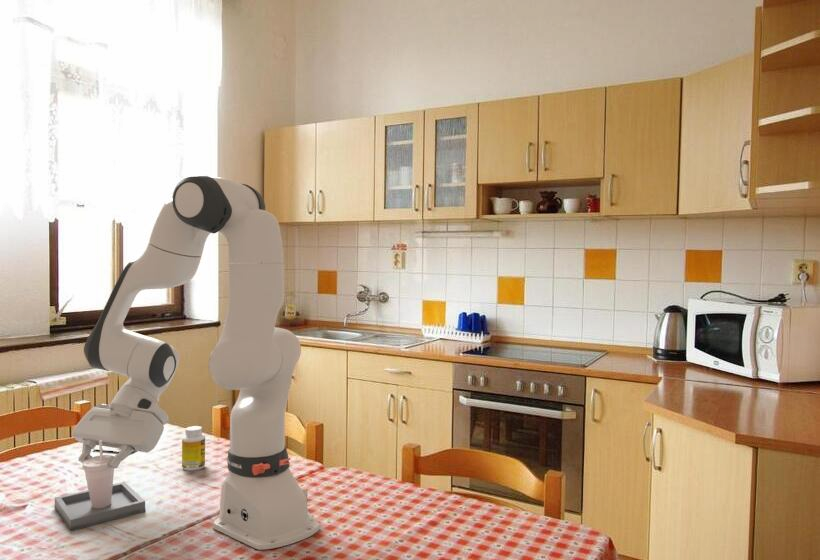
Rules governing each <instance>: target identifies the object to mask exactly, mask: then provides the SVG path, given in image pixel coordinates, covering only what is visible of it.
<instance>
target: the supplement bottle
mask: <svg viewBox="0 0 820 560" xmlns="http://www.w3.org/2000/svg"><path fill="white" fill-rule="evenodd" d="M202 427H203V426H199V425H193V426H188V427H186V428H185V432H184V433H185V434H184V435H183V436H182V438H181V468H182V469H183V470H184V471H190V472H193V471H199V470H201V469H203V468H205V466H206V436H205V435H206V434H204V433H203V428H202Z"/></svg>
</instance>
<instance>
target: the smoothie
mask: <svg viewBox="0 0 820 560" xmlns="http://www.w3.org/2000/svg"><path fill="white" fill-rule="evenodd" d="M99 449H100V451H99V455H96V456H92V458H89V459H87V460H85V461H84V462H83V463H81V464H82V470H84V474H85V475H84V476H85V479H86V484H87V490H88V491H89V496H90V501H91V506H92V508H96V509H98V508H104V507H107V506H109V505H110V504H111V499H112V487H113V484H114V475H115V474H114V473H115V468H111V467H109V466H108V465H107V462H108V461H109V459H110V457H114V456H115V455H111V454H110V455H109V454H104V451H103V450H104V449H103V448H102V440H100V441H99Z"/></svg>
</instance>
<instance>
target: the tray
mask: <svg viewBox="0 0 820 560" xmlns="http://www.w3.org/2000/svg"><path fill="white" fill-rule="evenodd" d="M54 509H55V511H56V513H58V515H59V516H60V518H61V519H62V520H63V523H64V524H65V525H66V527H67V528H68V529H69V532H72V531H77V530H80V529H84V527H85V528H89V527H91V526H96V525H99V524H103V523H107V522H111V521H114V520H118V519H123V518H126V517H129V516H134V515H138V514H140V513H145V512H146V500H145V499H144V498H142V497H141V496H140V495H139V494H138V493H137V492H136V491H135V490H134V489H133V488H132V487H131V486H130V485H129V484H128V483H126V481H122V482H118V483H113V487H112V499H111V504H110V505H109V506H107V507H104V508H98V509H96V508H92V506H91V501H90V496H89V491H88V489H86V490H82V491H79V492H73V493H70V494H65V495H64V494H63V495H61V496H57V497H56V496H55V497H54ZM76 529H77V530H76Z"/></svg>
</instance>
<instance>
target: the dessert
mask: <svg viewBox="0 0 820 560" xmlns="http://www.w3.org/2000/svg"><path fill="white" fill-rule="evenodd" d="M98 448H99V446H98V445H96V446H95V448H94V449H92V450H93V451H96V450H100V449H98ZM102 450H103V452H107V451H113V452H112V453H118V452H120V451H121V450H113V449H102ZM133 452H134V451H132V452H131V453H133Z"/></svg>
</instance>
